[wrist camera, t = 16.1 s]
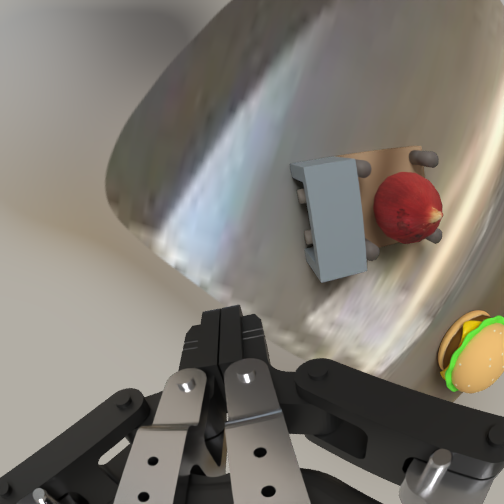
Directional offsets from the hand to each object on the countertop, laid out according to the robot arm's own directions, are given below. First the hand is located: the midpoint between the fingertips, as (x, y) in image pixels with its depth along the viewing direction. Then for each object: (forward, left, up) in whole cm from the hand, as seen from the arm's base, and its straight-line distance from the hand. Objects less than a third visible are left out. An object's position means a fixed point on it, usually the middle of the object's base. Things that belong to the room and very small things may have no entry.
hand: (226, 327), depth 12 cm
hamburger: (-28, +22, -16) cm, 39 cm away
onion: (-15, 0, -15) cm, 21 cm away
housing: (-8, 0, -16) cm, 18 cm away
